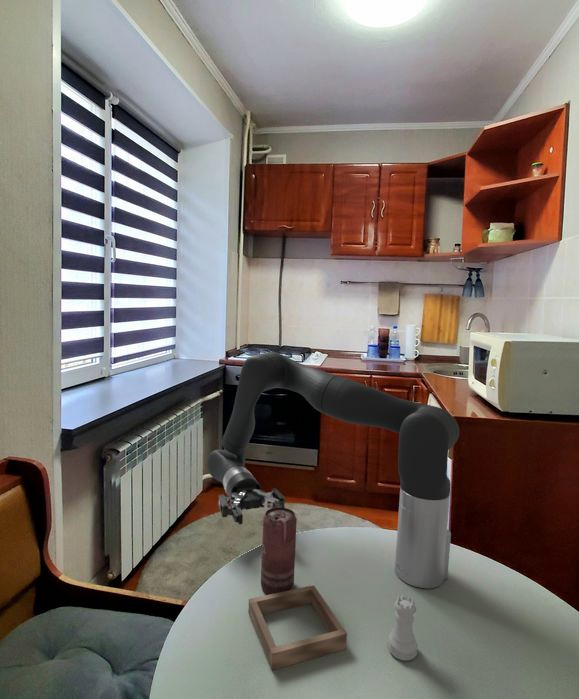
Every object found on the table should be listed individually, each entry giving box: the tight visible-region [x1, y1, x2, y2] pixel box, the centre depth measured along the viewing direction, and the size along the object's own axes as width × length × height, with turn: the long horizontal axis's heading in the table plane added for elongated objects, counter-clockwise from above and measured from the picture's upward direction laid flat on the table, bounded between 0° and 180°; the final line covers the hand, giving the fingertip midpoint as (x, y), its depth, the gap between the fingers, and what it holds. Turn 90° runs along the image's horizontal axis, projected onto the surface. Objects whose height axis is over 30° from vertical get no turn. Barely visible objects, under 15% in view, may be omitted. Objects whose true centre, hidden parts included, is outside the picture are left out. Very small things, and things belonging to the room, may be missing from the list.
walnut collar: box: [247, 584, 348, 671], centre depth 67 cm, size 12×12×2 cm
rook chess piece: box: [386, 595, 418, 662], centre depth 64 cm, size 4×4×8 cm
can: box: [260, 507, 298, 595], centre depth 77 cm, size 6×6×14 cm
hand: (261, 517), depth 87 cm, fingers open, 8 cm apart
